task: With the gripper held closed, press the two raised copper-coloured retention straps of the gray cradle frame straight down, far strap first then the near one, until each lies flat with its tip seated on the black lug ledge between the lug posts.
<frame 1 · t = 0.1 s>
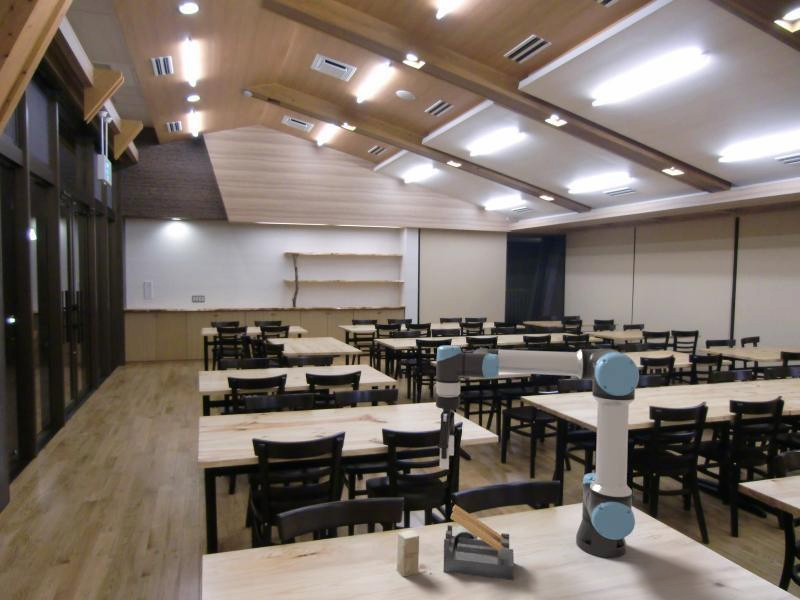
hand: (446, 461, 166), 28 cm above the table, fingers open, 13 cm apart
strap far: (480, 525, 159), point 11 cm above the table, hinge at 30.0°
box: (407, 572, 153), on the table
gray cradle frame: (478, 567, 156), on the table
strap near: (479, 533, 153), point 11 cm above the table, hinge at 30.0°
lug bar: (449, 563, 158), resting on gray cradle frame
ceramic mug: (461, 551, 166), on the table
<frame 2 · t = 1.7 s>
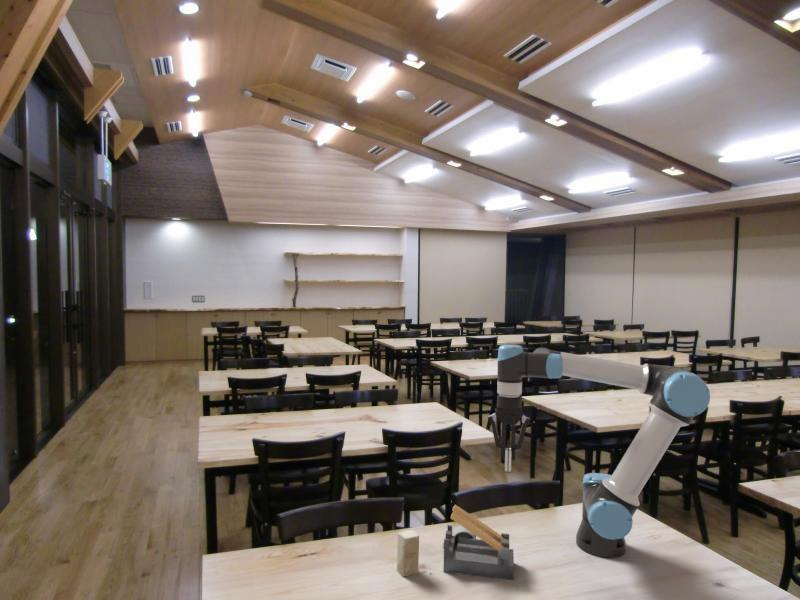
hand: (507, 469, 164), 26 cm above the table, fingers closed
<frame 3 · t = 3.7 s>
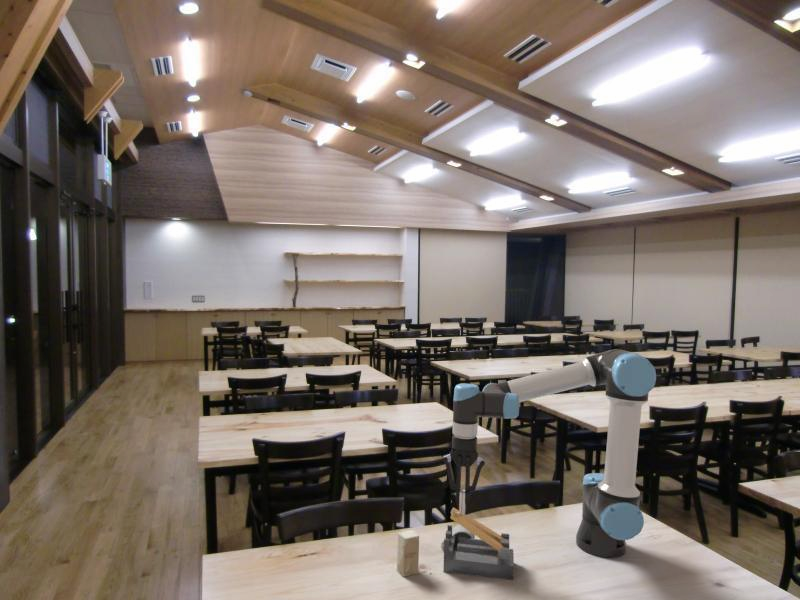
hand: (462, 512, 160), 15 cm above the table, fingers closed
strap far: (479, 526, 159), point 11 cm above the table, hinge at 26.6°, touching gripper
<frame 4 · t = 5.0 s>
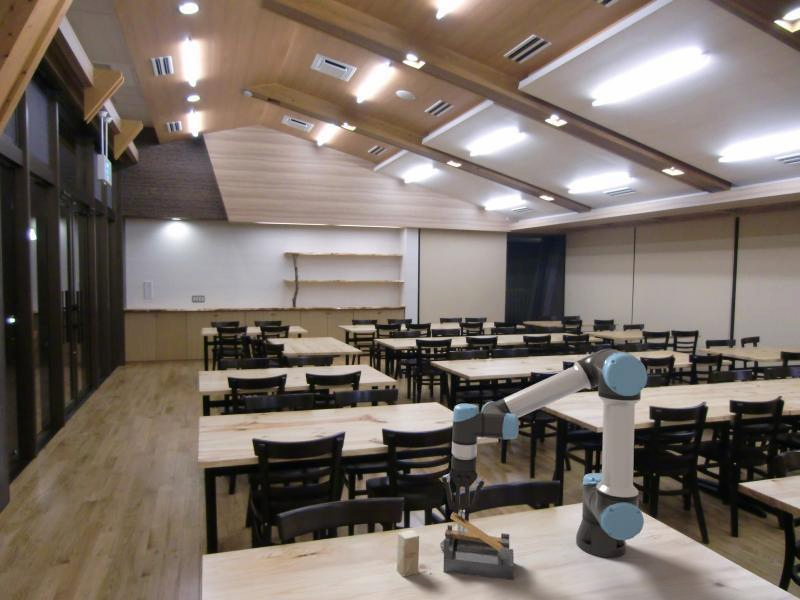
hand: (461, 532, 160), 9 cm above the table, fingers closed, pressing on strap far
strap far: (476, 537, 159), point 7 cm above the table, hinge at 3.1°, touching gripper
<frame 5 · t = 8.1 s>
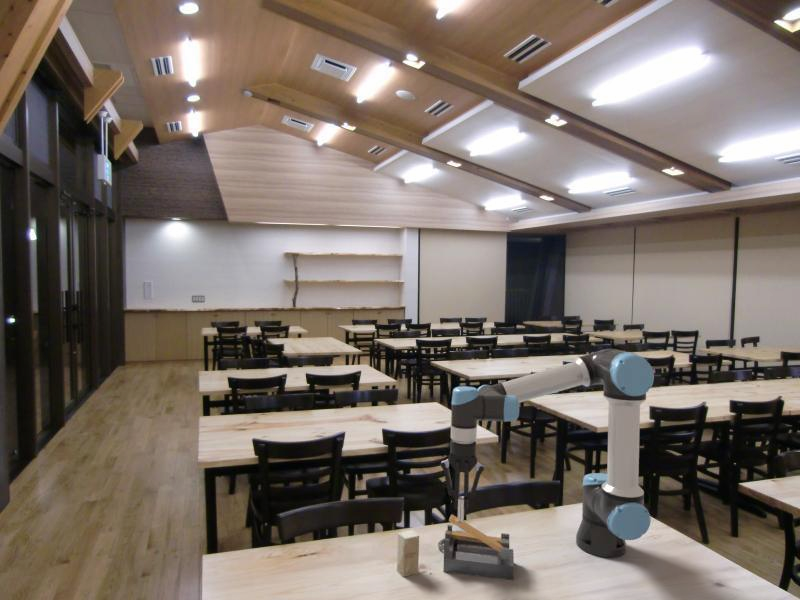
hand: (460, 519, 154), 15 cm above the table, fingers closed
strap far: (476, 538, 159), point 7 cm above the table, hinge at 2.1°
strap near: (478, 534, 153), point 11 cm above the table, hinge at 27.0°, touching gripper
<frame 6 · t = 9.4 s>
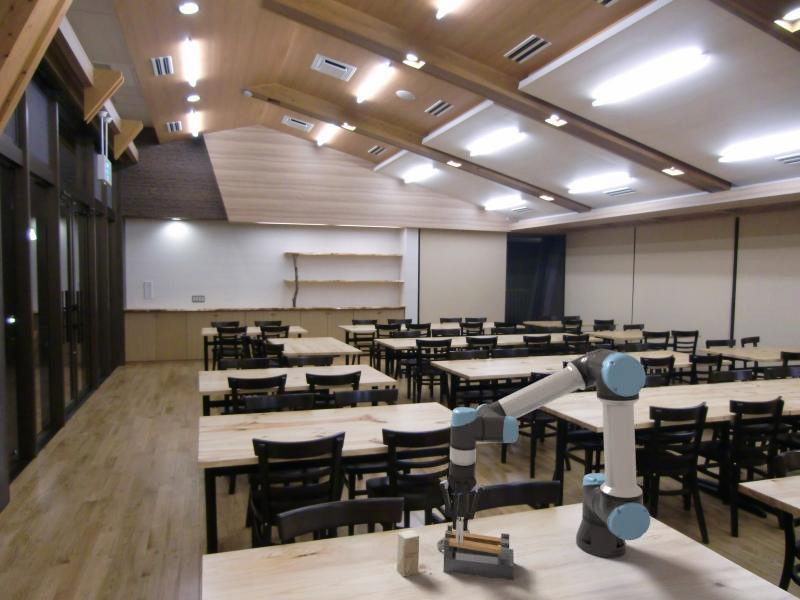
hand: (459, 540, 155), 9 cm above the table, fingers closed, pressing on strap near
strap near: (475, 546, 154), point 8 cm above the table, hinge at 3.3°, touching gripper
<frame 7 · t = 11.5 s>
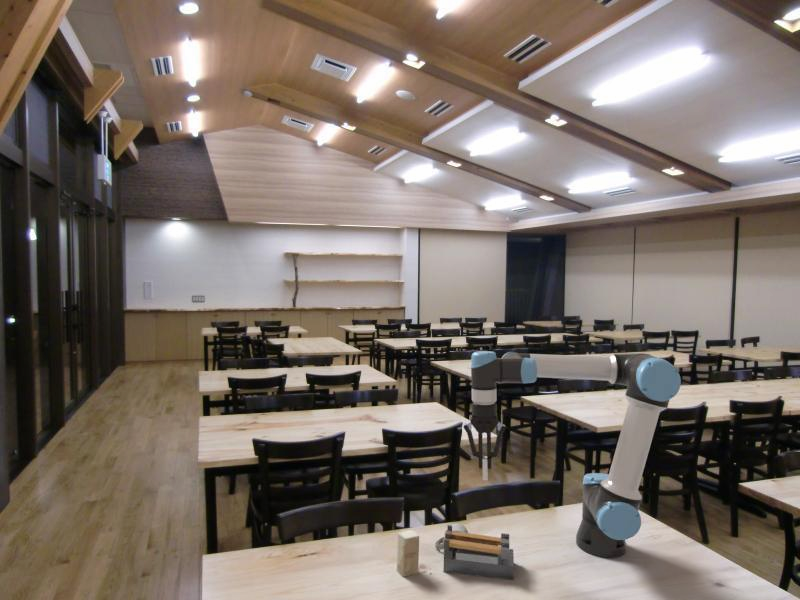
hand: (485, 478, 161), 25 cm above the table, fingers closed
strap near: (475, 546, 154), point 7 cm above the table, hinge at 2.1°
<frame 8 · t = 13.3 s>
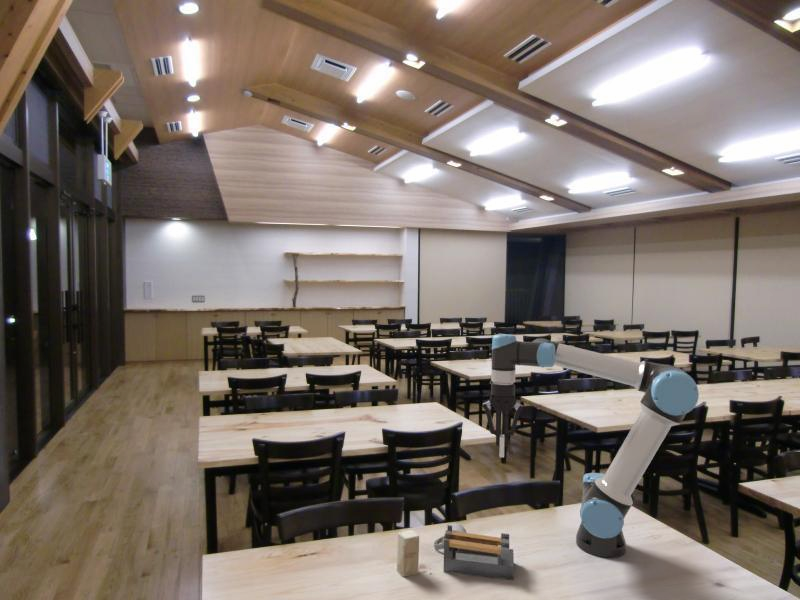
hand: (501, 456, 168), 29 cm above the table, fingers closed
at the end: strap far at +2° (first picture: +30°); strap near at +2° (first picture: +30°) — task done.
